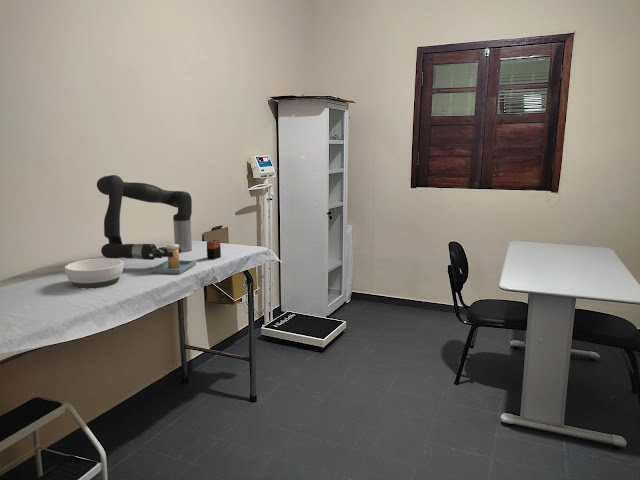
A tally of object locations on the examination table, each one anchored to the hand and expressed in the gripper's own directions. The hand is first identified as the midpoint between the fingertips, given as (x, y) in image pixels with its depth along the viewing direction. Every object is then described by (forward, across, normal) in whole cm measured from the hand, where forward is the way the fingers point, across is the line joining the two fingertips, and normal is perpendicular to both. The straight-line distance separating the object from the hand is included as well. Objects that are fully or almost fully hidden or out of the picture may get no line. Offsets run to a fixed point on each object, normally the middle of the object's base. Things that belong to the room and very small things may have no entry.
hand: (176, 252), depth 225 cm
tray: (-2, 0, +8) cm, 8 cm away
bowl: (-24, -28, +8) cm, 38 cm away
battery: (+8, +26, +8) cm, 29 cm away
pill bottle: (-2, 0, +7) cm, 8 cm away
